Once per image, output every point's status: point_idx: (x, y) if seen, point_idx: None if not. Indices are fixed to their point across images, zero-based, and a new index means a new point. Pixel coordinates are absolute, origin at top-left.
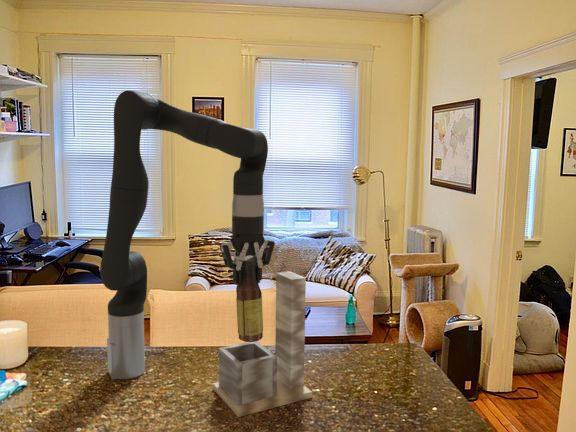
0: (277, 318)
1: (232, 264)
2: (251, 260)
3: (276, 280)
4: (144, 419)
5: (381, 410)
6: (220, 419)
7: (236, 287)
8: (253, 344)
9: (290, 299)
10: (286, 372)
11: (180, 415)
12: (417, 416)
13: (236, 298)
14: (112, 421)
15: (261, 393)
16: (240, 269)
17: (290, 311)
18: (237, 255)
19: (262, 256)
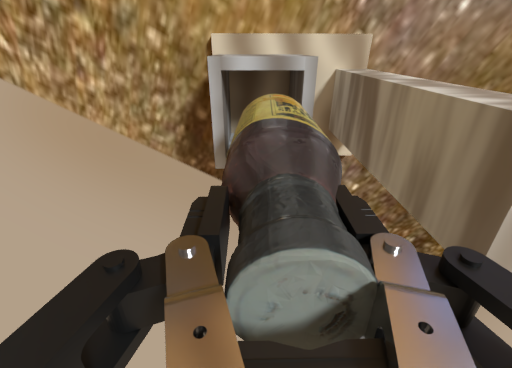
0: (394, 95)
1: (137, 336)
2: None
3: (507, 112)
4: (78, 90)
5: (397, 220)
6: (193, 146)
7: (227, 164)
8: (302, 69)
9: (419, 214)
10: (337, 121)
11: (137, 106)
12: (419, 247)
13: (228, 152)
14: (23, 70)
15: None
16: (238, 242)
17: (396, 193)
18: (200, 337)
19: (487, 305)
